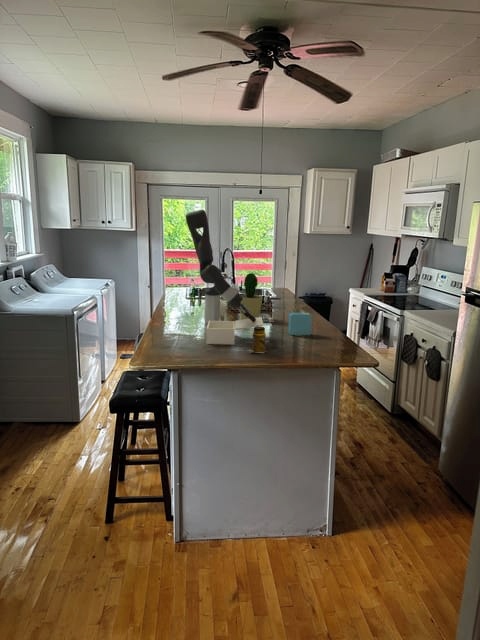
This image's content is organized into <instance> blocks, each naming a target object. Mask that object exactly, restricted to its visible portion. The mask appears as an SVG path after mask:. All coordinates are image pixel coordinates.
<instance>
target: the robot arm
mask: <svg viewBox="0 0 480 640" xmlns="http://www.w3.org/2000/svg"><path fill="white" fill-rule="evenodd" d="M185 221H186V225H187V227H188V230H189V233H190V236H191V239H192V242H193V246H194V250H195V253H196V256H197V258H198V261H199V276H200V279H201V281H202V282H204V283H205V284H213V286H211V287H210V288H207V289H205V290H204V291H205V292H204V323H206V324H208V322H209V321H221V297H222V298H223V300H224V301H225V302H226V303H227V305H228V306H230V307H231V308H232V309H235V308H236V307H237V308H238V309H237V310H238V311H239V312H241V313H242V314H244V315H245V316H246V317H248V318H249V319H250V320H251V321H252V322H255V321H256V319H255V317H254V316H253V315H252V314H251V312H250V311H249V309H248V308H247V307H246V306H245V304H244V303H243V304H242V303H241V301H242V300H243V298H242V297H241V295H242V294H240V293H239V292H238V291H237V290H236V289H235V288H234V287H232V286H231V284H230V283H229V282H227V280H226V279H225V277H224V275H223V273H222V270H221V268H219V267H217V266H216V265H215V264H213V263H214V256H213V252H214V251H213V247H212V243H211V238H210V237H211V236H210V229H209V228H210V226H209V220H208V215H207V212H206V210H204V209H200V210H194V211H190V212H187V213H186V214H185ZM199 229H202V234H200V233H199V231H198V230H199ZM241 313H240V314H241Z"/></svg>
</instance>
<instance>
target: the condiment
mask: <svg viewBox="0 0 480 640" xmlns="http://www.w3.org/2000/svg"><path fill="white" fill-rule="evenodd" d="M265 330H266V328H265V326H258V327H253V333H252V348H251V349H252V350H253V351H254V352H264V351H265V352H266V331H265Z"/></svg>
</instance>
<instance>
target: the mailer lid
mask: <svg viewBox="0 0 480 640" xmlns="http://www.w3.org/2000/svg"><path fill="white" fill-rule="evenodd" d="M255 319H256V321H255V322H252V321H251V320H250V319H243V320H242V319H237V320H235V331H236V330H242V329H248V328H254V327H265V326H264V321H263V318H262V316H259V317H257V318H255Z"/></svg>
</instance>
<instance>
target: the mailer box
mask: <svg viewBox="0 0 480 640" xmlns="http://www.w3.org/2000/svg"><path fill="white" fill-rule="evenodd" d="M235 321H236V320H235ZM235 321H233V320H220V321H209V322H208V323H207V326H206V344H207V345H235V336H236V335H235V333H236V330H235Z"/></svg>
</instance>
